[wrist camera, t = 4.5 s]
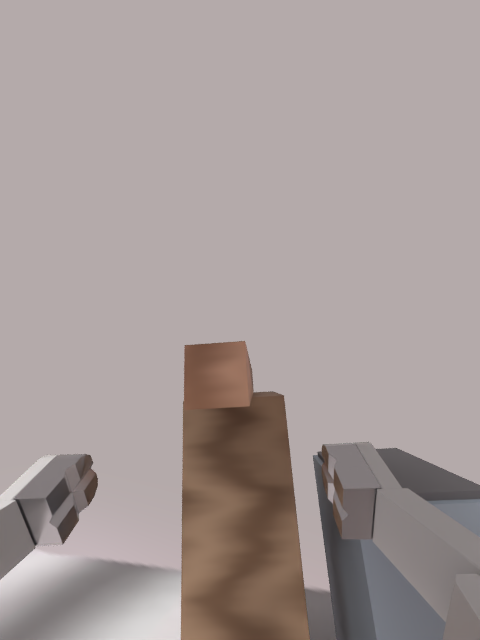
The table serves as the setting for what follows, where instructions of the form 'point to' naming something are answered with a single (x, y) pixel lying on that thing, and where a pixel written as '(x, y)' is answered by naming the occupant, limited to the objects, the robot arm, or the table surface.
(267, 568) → the post
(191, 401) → the bar
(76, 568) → the table surface
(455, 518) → the dock
